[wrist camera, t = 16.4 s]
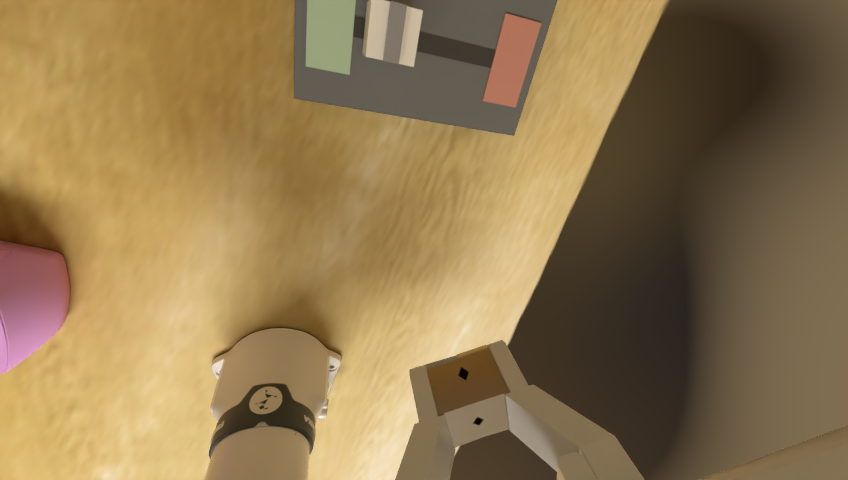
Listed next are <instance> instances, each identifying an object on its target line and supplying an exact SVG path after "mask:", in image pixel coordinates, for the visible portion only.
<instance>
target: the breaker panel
mask: <svg viewBox="0 0 848 480" xmlns="http://www.w3.org/2000/svg"><path fill="white" fill-rule="evenodd" d="M368 1H369V0H295V47H294V98H295V99H301V100H306V101H312V102H318V103H324V104H330V105H336V106H342V107H348V108H354V109H360V110H365V111H371V112H377V113H383V114H389V115H395V116H401V117H407V118H413V119H419V120H424V121H430V122H436V123H442V124H448V125H454V126H460V127H466V128H472V129H478V130H484V131H489V132H495V133H501V134H507V135H513V136H514V134H515V131H516V128H517V125H518V122H519V119H520V115H521V112H522V109H523V106H524V103H525V100H526V97H527V94H528V90H529V87H530V84H531V81H532V78H533V75H534V72H535V69H536V65H537V62H538V59H539V56H540V53H541V50H542V47H543V44H544V40H545V37H546V34H547V31H548V28H549V25H550V22H551V19H552V15H553V12H554V9H555V6H556V3H557V0H385V1H389V2H391V1H394V2H398V3H401V4H405V5H407V6H408V7H412V8H416V9H419V10H423V14H422V20H421V26H420V32H419V38H418V44H417V50H416V57H415V63H414V67H411V66H406V65H402V64H395V63H391V62H386V61H383V60H378V59H374V58H369V57H365V56H364V55H363V54H362V51H363V40H364V30H365V19H366V9H367V2H368Z"/></svg>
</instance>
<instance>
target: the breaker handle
mask: <svg viewBox="0 0 848 480" xmlns="http://www.w3.org/2000/svg"><path fill="white" fill-rule="evenodd" d="M422 14H423V10H419V9H416V8H412V7H408V6H407V5H405V4H401V3H398V2H394V1H391V2H389V1H385V0H369V1H368V2H367V9H366V19H365V30H364V40H363V51H362V54H363V55H364V56H365V57H369V58H374V59H378V60H383V61H386V62H391V63H395V64H402V65H406V66H411V67H414V63H415V57H416V50H417V44H418V38H419V32H420V26H421V20H422Z"/></svg>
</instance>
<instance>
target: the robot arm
mask: <svg viewBox="0 0 848 480" xmlns="http://www.w3.org/2000/svg"><path fill="white" fill-rule="evenodd" d="M340 364H341V356H340V355H339V354H337V353H335V352H333V351H331V350H328V349H327V348H326V347H324V345H323V344H322V343H321V342H320V341H319V340H317V339H316V338H315V337H313V336H311V335H309V334H307V333H305V332H302V331H299V330H294V329H287V328H273V329H266V330H261V331H258V332H255V333H252V334H250V335H248V336H246V337H244V338H243V339H241V340H240V341H239V342H238V343H237V344H236V345H235V346H234V347H233V348H232V349H231V350H230V351H229V352H227V353H224V354H222V355H220V356H218V357H216V358H215V359H214V360H213V361H212V365H211V369H212V371H213V373H214V375H215V377H216V379H217V385H216V388H215V392H214V396H213V399H212V403H211V407H210V411H211V412H213V415H214V417H215V419H216V420H217V421H218V423H217V426H216V429H215V431H214V433H213V436H212V439H211V446H210V450H209V457H210V463H209V466H208V469H207V473H206V476H205V479H204V480H308V468H309V455H310V453H311V451H312V449H313V444H314V440H315V431H316V430H315V422H316V420H317V419H325V418H326V415H327V409H328V399H327V396H328V394H329V391H330V389H331V386H332V384H333V381H334V379H335V376H336V374H337V371H338V369H339V366H340ZM410 379H411V384H412V389H413V394H414V398H415V403H416V408H417V413H418V418H419V423H417V424H414V427H413V430H412V433H411V436H410V439H409V442H408V444H407V447H406V450H405V453H404V456H403V459H402V462H401V465H400V467H399V470H398V473H397V476H396V479H395V480H449V479H450V474H451V469H452V464H453V459H454V454H455V447H458V446H460V445H463V444H465V443H468V442H471V441H473V440H476V439H479V438H482V437H485V436H488V435H491V434H495V433H498V432H501V431H504V430H508V429H510V431H511V432H512V433H513V434H514V435H516V436H517V437H518V438H519V439H520V440H521V441H522V442H524V443H525V444H526V445H527V446H528V447H529V448H531V449H532V450H533V451H534V452H535V453H536V454H537V455H538V456H540V457H541V458H542V459H543V460H544V461H545V462H546V463H548V464H549V465H550V466H551V467H552V468H553V469H555V470H556V471H557V480H644V478H643V477H642V476H641V474H640V473H639V471H638V470H637V468H636V467H635V465H634V464H633V462H632V461H631V459H630V458H629V457H628V455H627V454H626V452H625V451H624V449H623V448H622V446H621V445H620V443H619V442H618V440H617V439H616V437H615V436H614V435H612V434H610V433H609V432H607V431H606V430H604V429H603V428H601V427H599V426H598V425H596V424H594V423H593V422H591V421H590V420H588V419H587V418H585V417H584V416H582V415H580V414H579V413H577V412H576V411H574V410H573V409H571V408H569V407H568V406H566V405H564V404H563V403H561V402H560V401H558V400H557V399H555V398H554V397H552V396H550V395H549V394H547V393H546V392H544V391H542V390H541V389H539V388H538V387H536V386H534V385H531V386H528V384H527V382H526V380H525V378H524V377H523V375H522V373H521V371H520V369H519V368H518V366H517V364H516V362H515V360H514V358H513V356H512V354H511V353H510V351H509V349H508V347H507V345H506V343H505V342H504V341H503V340H500V341H497V342H495V343H492V344H489V345H484V346H481V347H478V348H475V349H472V350H469V351H466V352H463V353H460V354H457V355H456V356H453V357H450V358H446V359H443V360H440V361H436V362H433V363H430V364H426V365H423V366H420V367H416V368H413V369H410ZM699 480H848V425H847V426H844V427H841V428H839V429H836V430H833V431H830V432H828V433H825V434H822V435H819V436H817V437H814V438H811V439H808V440H806V441H803V442H800V443H797V444H795V445H792V446H789V447H786V448H784V449H781V450H778V451H775V452H773V453H770V454H767V455H765V456H762V457H759V458H756V459H754V460H751V461H748V462H745V463H742V464H740V465H737V466H734V467H732V468H729V469H726V470H724V471H721V472H718V473H715V474H712V475H710V476H707V477H704V478H701V479H699Z"/></svg>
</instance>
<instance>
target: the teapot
mask: <svg viewBox="0 0 848 480" xmlns="http://www.w3.org/2000/svg"><path fill="white" fill-rule="evenodd" d="M69 301H70V283H69V276H68V271H67V266H66V262H65V259H64V257H63V256H62V254H60V253H59V252H56V251H52V250H47V249H43V248H38V247H33V246H28V245H23V244H17V243H12V242H6V241H1V240H0V373H4V372H7V371H9V370H10V369H12V368H13V367H15V366H16V365H17V364H19V363H20V362H22V361H23V360H24V359H26V358H27V357H28V356H30V355H31V354H32V353H34V352H35V351H36V350H37V349H39V348H40V347H41V346H42V345H44V344H45V343H46V342H47V341H48V340H49V339H50V338H51V337H53V336H54V335H55V334H56V333H57V332H58V331H59V330H60V328H61V327H62V325H63V323H64V322H65V320H66V317H67V314H68V309H69Z"/></svg>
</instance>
